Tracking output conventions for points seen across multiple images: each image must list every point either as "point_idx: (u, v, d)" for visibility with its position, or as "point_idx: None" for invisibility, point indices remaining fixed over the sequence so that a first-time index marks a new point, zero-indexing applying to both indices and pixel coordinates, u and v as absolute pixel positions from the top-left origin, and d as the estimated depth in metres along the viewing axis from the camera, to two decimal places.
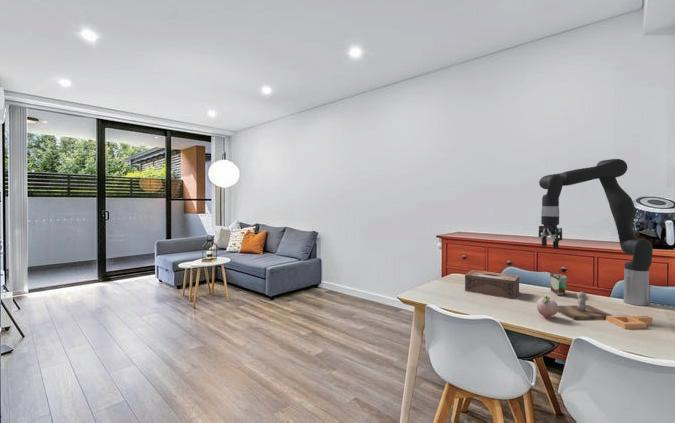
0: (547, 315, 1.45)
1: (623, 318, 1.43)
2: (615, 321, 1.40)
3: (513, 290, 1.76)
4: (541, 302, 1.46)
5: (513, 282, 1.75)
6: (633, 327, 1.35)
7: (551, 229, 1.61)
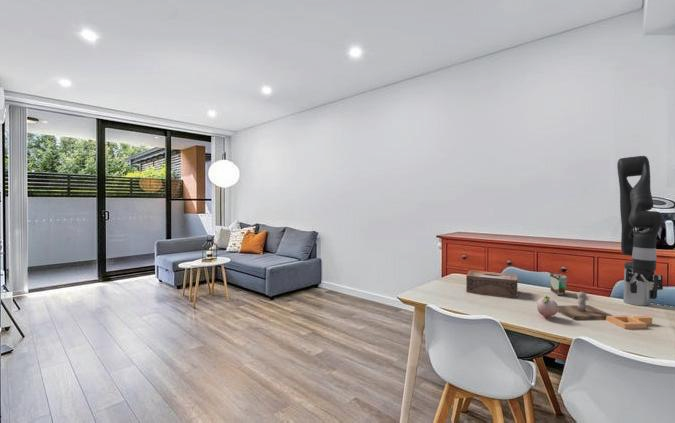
0: (547, 315, 1.45)
1: (623, 318, 1.43)
2: (615, 321, 1.40)
3: (516, 289, 1.77)
4: (541, 302, 1.46)
5: (516, 281, 1.76)
6: (633, 327, 1.35)
7: (647, 275, 1.36)
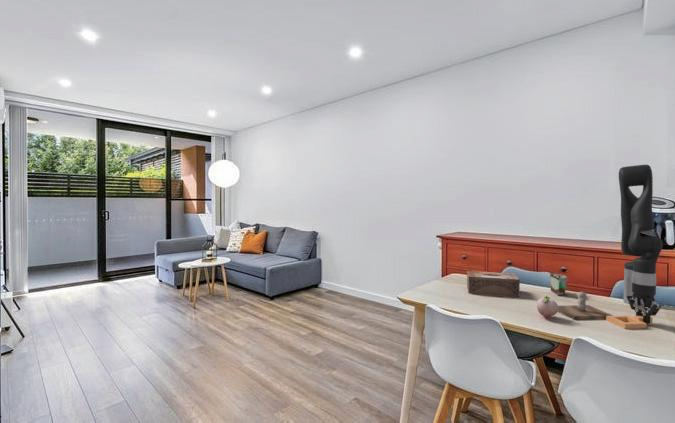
0: (547, 315, 1.45)
1: (623, 318, 1.43)
2: (615, 321, 1.39)
3: (518, 289, 1.78)
4: (541, 302, 1.46)
5: (518, 281, 1.78)
6: (633, 327, 1.35)
7: (646, 302, 1.37)
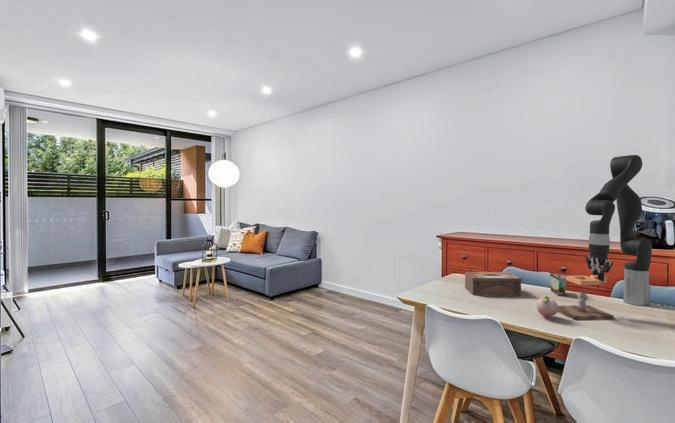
0: (547, 315, 1.45)
1: (581, 277, 1.55)
2: (573, 279, 1.52)
3: (520, 287, 1.81)
4: (541, 302, 1.46)
5: (520, 279, 1.80)
6: (588, 284, 1.47)
7: (601, 260, 1.49)
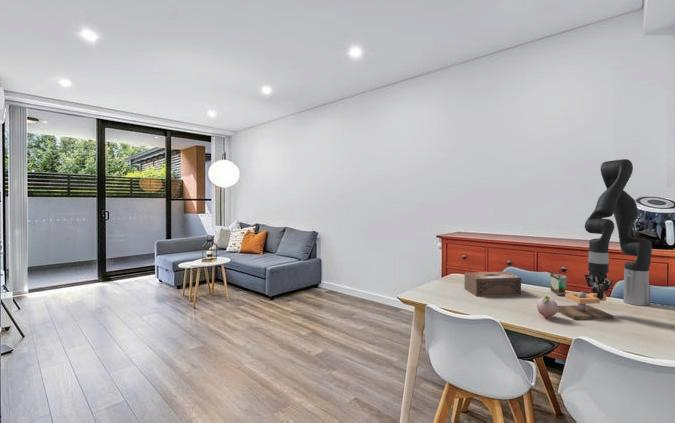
0: (547, 315, 1.45)
1: None
2: (572, 297, 1.52)
3: (520, 286, 1.82)
4: (541, 302, 1.46)
5: (520, 279, 1.82)
6: (587, 302, 1.48)
7: (600, 279, 1.49)
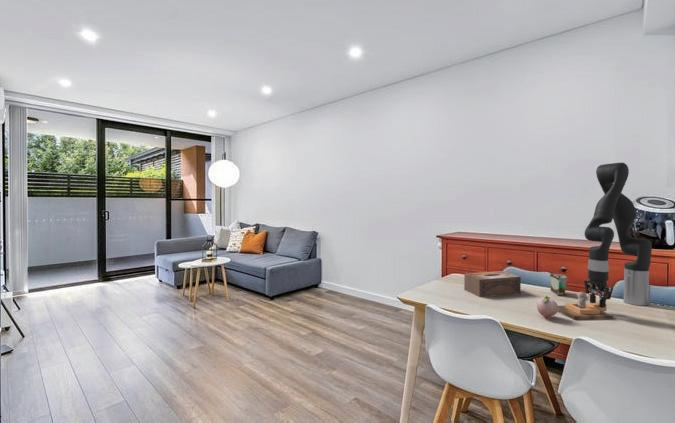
0: (547, 315, 1.45)
1: None
2: (572, 308, 1.52)
3: (519, 285, 1.84)
4: (541, 302, 1.46)
5: (519, 278, 1.84)
6: (588, 313, 1.48)
7: (600, 286, 1.49)
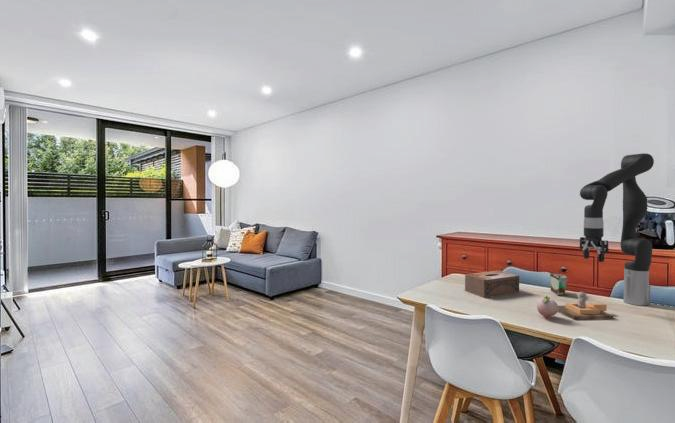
0: (547, 315, 1.45)
1: None
2: (572, 308, 1.52)
3: (518, 284, 1.86)
4: (541, 302, 1.46)
5: (518, 277, 1.86)
6: (588, 313, 1.48)
7: (595, 241, 1.55)
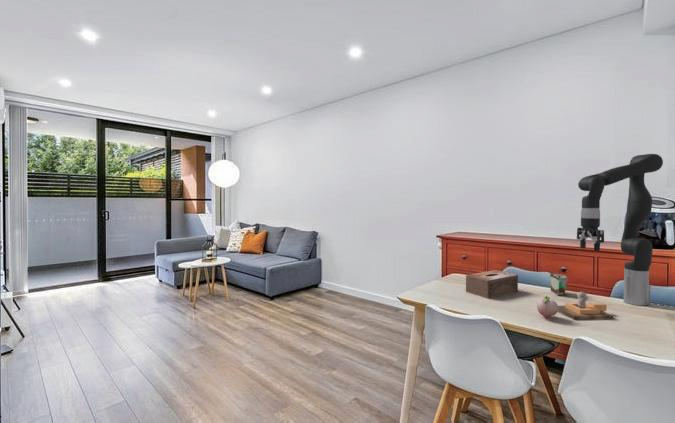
0: (547, 315, 1.45)
1: None
2: (572, 308, 1.52)
3: (517, 283, 1.88)
4: (541, 302, 1.46)
5: (517, 276, 1.88)
6: (588, 313, 1.48)
7: (592, 231, 1.59)
